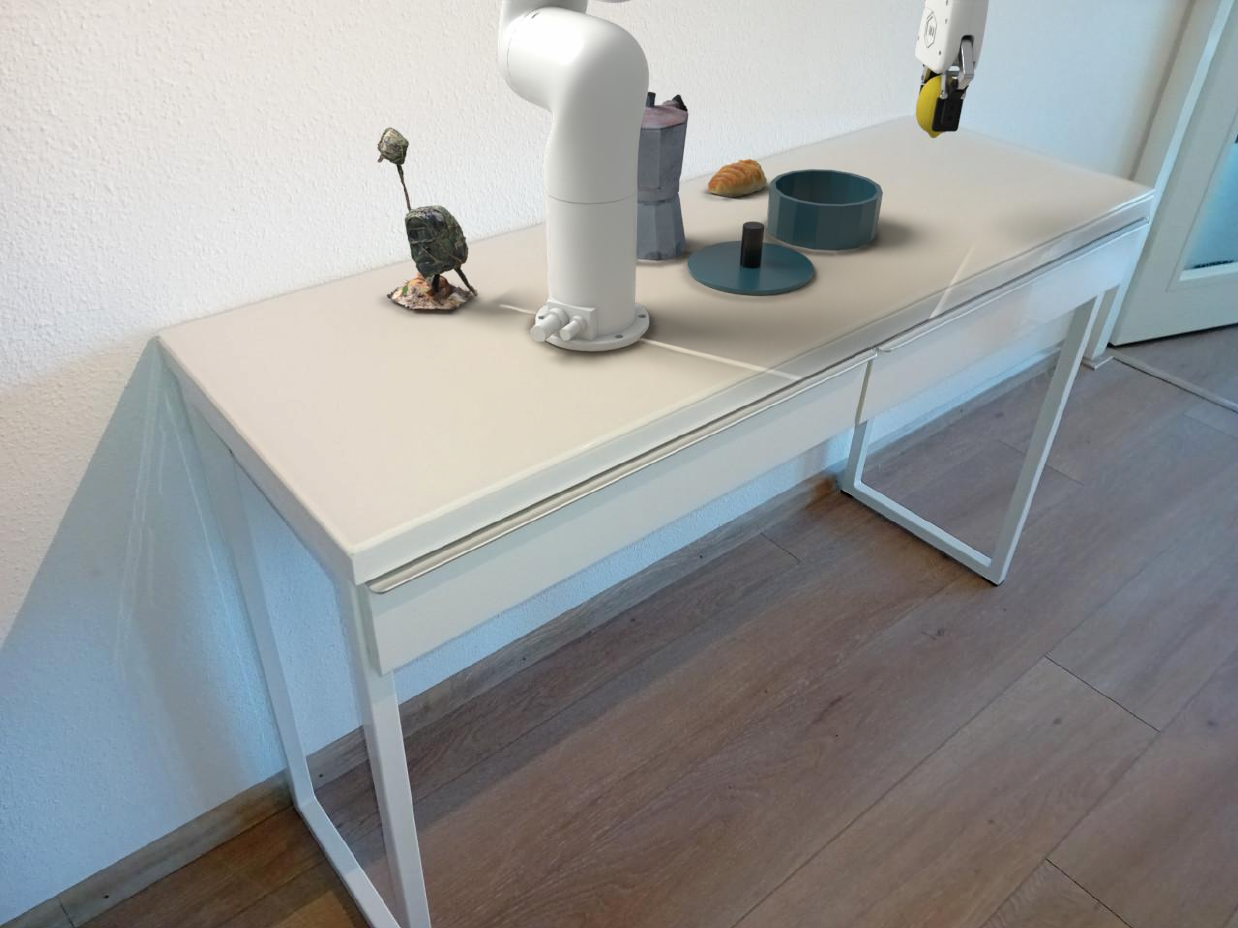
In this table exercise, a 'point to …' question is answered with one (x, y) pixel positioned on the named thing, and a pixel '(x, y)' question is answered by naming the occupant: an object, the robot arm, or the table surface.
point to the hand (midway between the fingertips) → (936, 122)
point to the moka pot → (660, 179)
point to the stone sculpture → (428, 244)
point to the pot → (823, 209)
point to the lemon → (929, 104)
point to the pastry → (738, 179)
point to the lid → (750, 265)
